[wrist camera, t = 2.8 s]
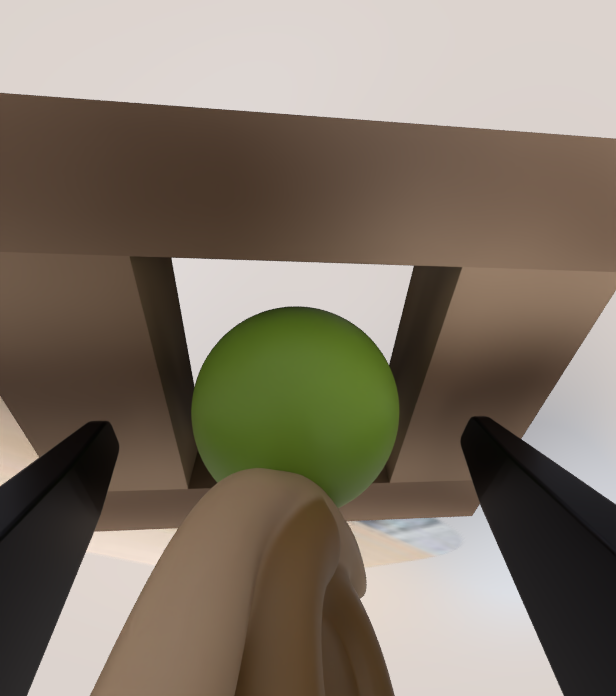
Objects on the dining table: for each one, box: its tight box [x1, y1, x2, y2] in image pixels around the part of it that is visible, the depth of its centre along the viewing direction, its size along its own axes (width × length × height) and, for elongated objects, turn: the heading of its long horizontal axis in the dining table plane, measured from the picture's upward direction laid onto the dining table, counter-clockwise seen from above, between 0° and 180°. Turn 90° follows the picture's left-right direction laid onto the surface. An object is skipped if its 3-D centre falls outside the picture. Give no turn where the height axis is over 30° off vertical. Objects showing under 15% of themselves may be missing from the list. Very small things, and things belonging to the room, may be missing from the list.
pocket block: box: [0, 93, 616, 531], centre depth 10 cm, size 13×15×2 cm
